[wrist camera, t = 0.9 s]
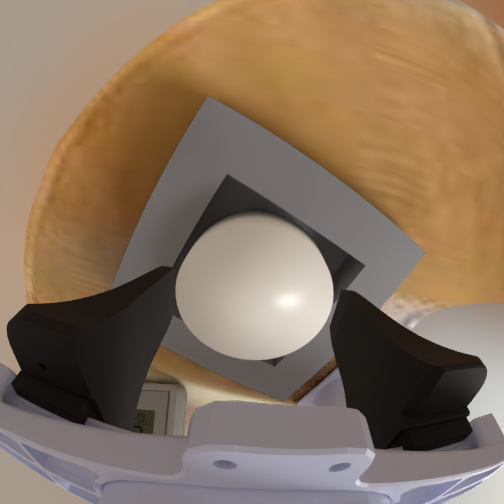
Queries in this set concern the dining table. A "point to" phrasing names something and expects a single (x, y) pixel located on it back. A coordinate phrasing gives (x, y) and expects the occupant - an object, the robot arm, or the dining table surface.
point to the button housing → (271, 200)
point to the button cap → (254, 286)
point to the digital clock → (161, 409)
